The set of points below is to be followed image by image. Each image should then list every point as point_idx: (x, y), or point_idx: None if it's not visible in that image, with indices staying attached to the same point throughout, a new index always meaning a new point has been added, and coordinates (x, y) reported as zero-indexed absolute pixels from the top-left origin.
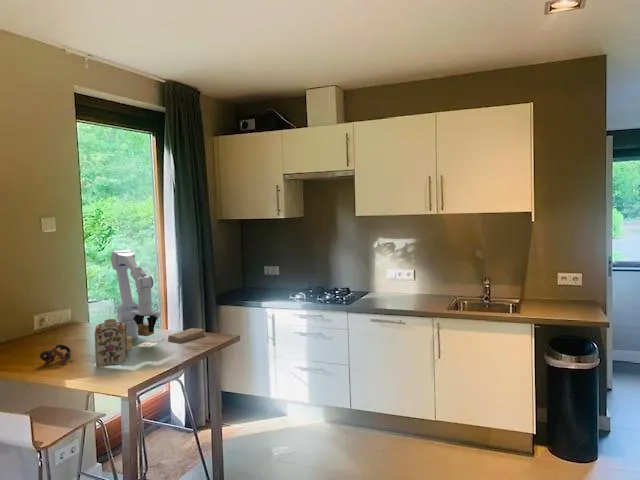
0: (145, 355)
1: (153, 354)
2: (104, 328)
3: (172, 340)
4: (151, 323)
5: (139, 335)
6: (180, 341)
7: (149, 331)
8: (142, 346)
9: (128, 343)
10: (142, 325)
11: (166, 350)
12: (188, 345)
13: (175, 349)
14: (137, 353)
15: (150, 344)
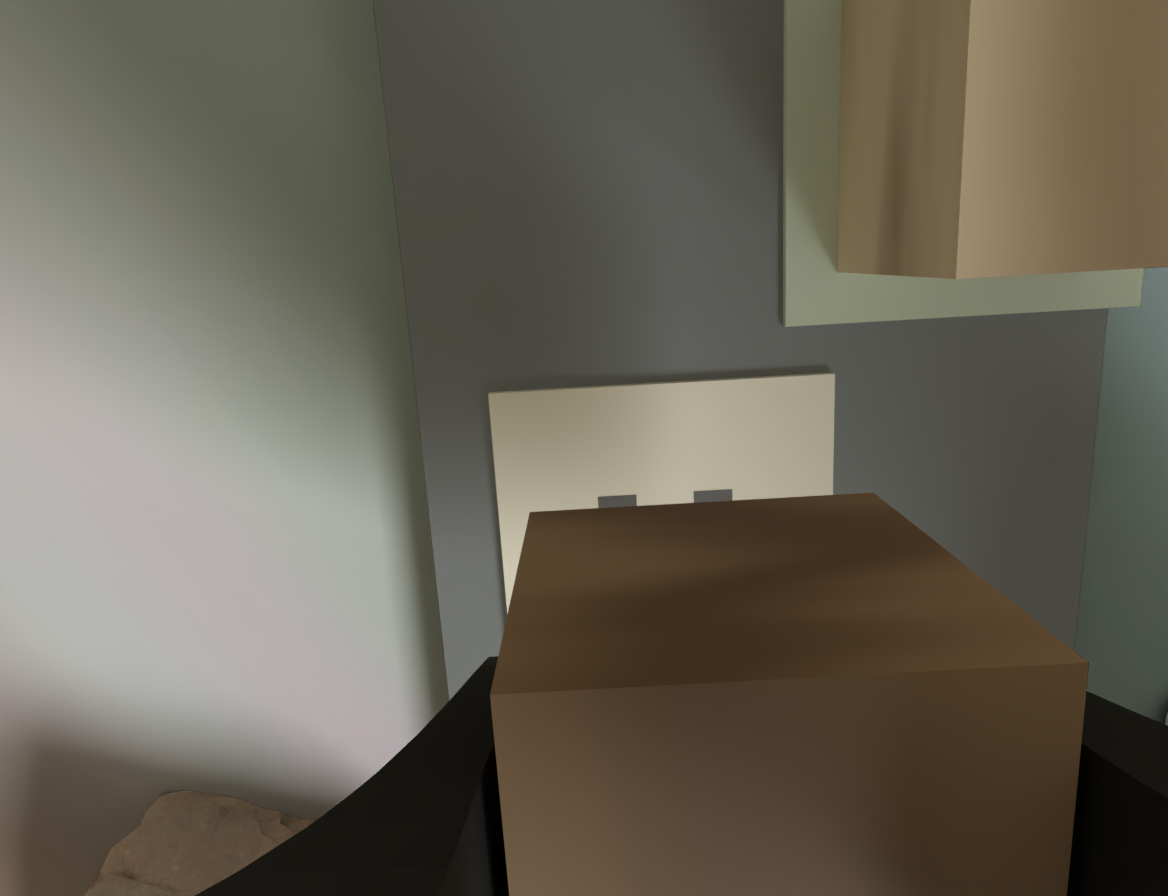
0: (288, 37)
1: (181, 161)
2: None
3: None
4: (276, 872)
5: (826, 496)
6: (99, 880)
7: None
8: (663, 401)
9: (891, 94)
10: (778, 670)
11: (147, 485)
12: (13, 862)
13: (35, 592)
14: None
15: None
